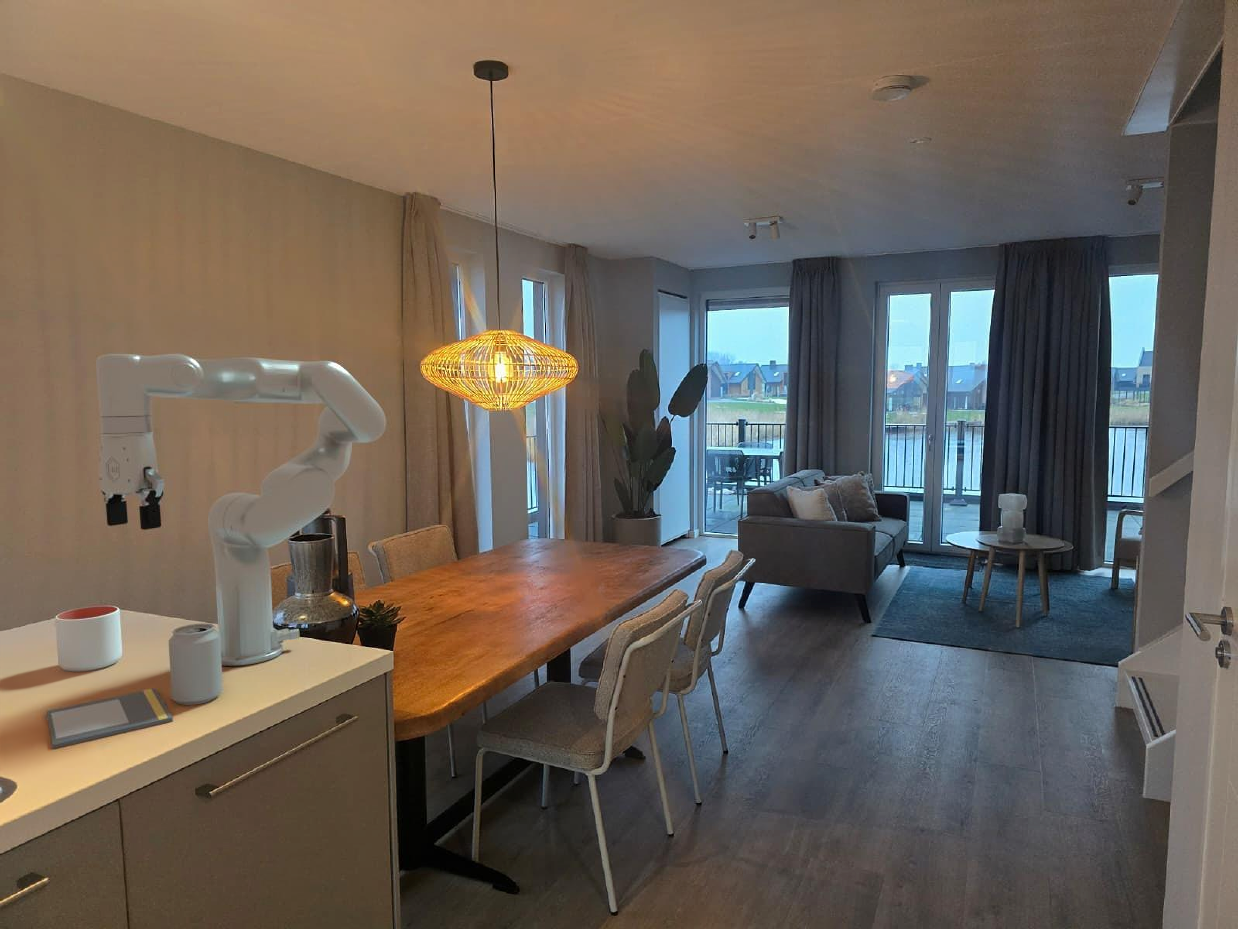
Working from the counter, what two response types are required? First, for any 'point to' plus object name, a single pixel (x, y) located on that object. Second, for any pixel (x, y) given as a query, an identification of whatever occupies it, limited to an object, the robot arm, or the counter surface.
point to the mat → (106, 717)
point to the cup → (88, 638)
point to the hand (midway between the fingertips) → (134, 526)
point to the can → (195, 664)
